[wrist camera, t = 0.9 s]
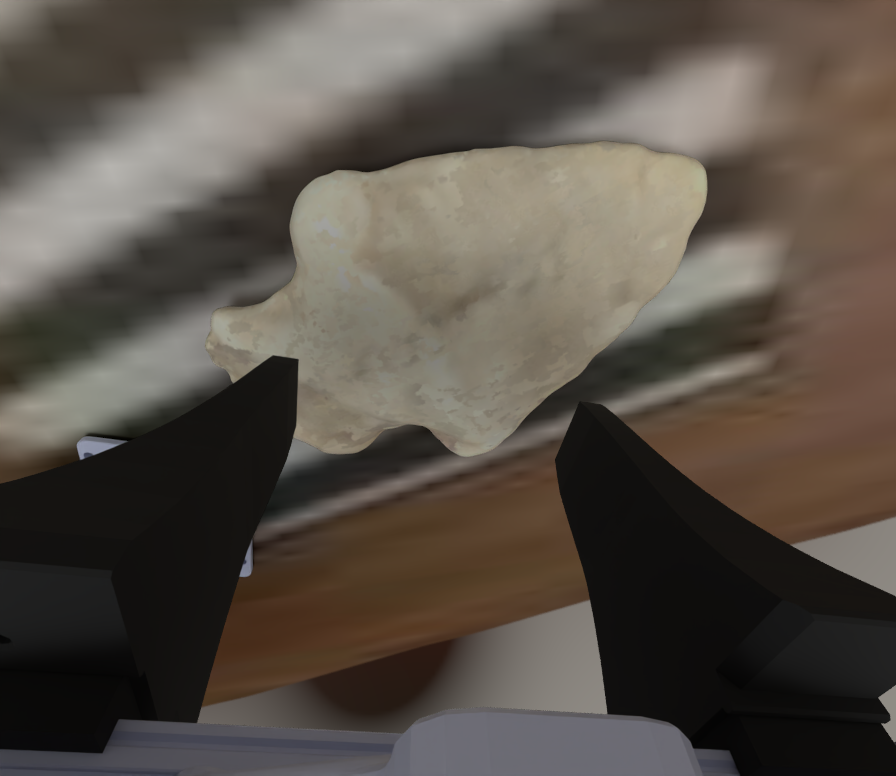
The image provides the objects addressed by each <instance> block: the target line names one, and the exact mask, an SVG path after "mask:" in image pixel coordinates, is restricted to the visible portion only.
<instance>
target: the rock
mask: <svg viewBox="0 0 896 776" xmlns="http://www.w3.org/2000/svg"><path fill="white" fill-rule="evenodd" d="M706 195H707V176H706V171H705V169H704V167H703V166H702V164H700V163H699V161H697V160H695V159H693V158H691V157H688V156H684V155H680V154H674V153H660V152H655V151H652V150H649V149H647V148H646V147H644V146H642V145H639V144H635V143H617V142H611V141H598V142H593V143H585V144H579V143H574V144H567V145H558V146H554V147H547V148H528V147H522V146H507V147H499V148H491V149H472V150H469V151H464V152H453V153H447V154H441V155H435V156H428V157H422V158H416V159H412V160H409V161H406V162H403V163H400V164H398V165H395V166H392V167H389V168H386V169H383V170H378V171H373V172H360V171H355V170H336V171H334V172H332V173H330V174H328V175H324V176H321V177H318V178H316V179H314V180H313V181H312V182H311V183H309V184H308V185H307V186H306V187H305V188H304V189H303V190H302V192H301V193H300V194H299V196H298V198H297V199H296V202H295V205H294V208H293V211H292V216H291V220H290V234H291V240H292V244H293V248H294V254H295V259H296V261H297V267H296V270H295V273H294V276H293V278H292V280H291V281H290V282H289V283H288V284H287V285H285V286H284V287H283V288H282V289H280V290H279V291H277V292H276V293H275V294H273V295H272V296H271V297H270V298H269V299H268V300H266V301H264V302H262V303H258V304H254V305H250V306H245V307H233V306H227V307H223V308H219V309H216V310H215V311H214V312H213V314H212V317H211V331H210V333H209V335H208V337H207V339H206V342H205V348H206V350H207V352H208V353H209V355H210V357H211V359H212V361H213V362H214V364H215V365H217V366H218V367H221V368H223V369H225V370H226V371H227V372H228V373H229V375H230V378H231V381H232V382H233V383H235V382H236V381H237V380H239V379H240V378H242V377H243V376H244V375H246V374H247V373H249V372H250V371H251V370H253V369H254V368H255V367H257V366H258V365H260V364H261V363H262V362H264V361H265V360H267V359H268V358H270V357H271V356H272V355H275V356H282V357H289V358H295V359H299V365H298V394H297V422H296V429H295V432H294V436H293V438H295V439H298V440H301V441H303V442H305V443H307V444H309V445H311V446H314V447H316V448H317V449H319V450H320V451H322V452H325V453H330V454H349V453H357V452H359V451H361V450H363V449H365V448H366V447H368V446H369V445H370V444H371V443H372V442H373V441H374V440H375V439H376V438H377V437H378V435H379V434H380V433H381V432H383V431H384V430H386V429H392V428H397V427H400V426H403V425H407V424H413V425H419V426H424V427H426V428H428V429H429V430H430V431H431V432H432V433H433V434H434V435H435V436H436V437H437V439H439V440H440V441H441V442H442V443H443V444H444V445H445V446H446V447H447V448H448V449H449V450H451V451H452V452H454V453H456V454H458V455H460V456H463V457H470V456H475V455H479V454H483V453H485V452H488V451H490V450H492V449H494V448H496V447H497V446H498V445H499V444H500V443H501V442H502V441H503V440H504V439H506V438H507V437H508V436H509V435H511V434H512V433H513V432H514V431H515V430H516V428H517V427H518V426H519V425H520V423H521V422H522V421H523V420H524V418H525V417H526V416H527V415H528V414H529V413H530V412H531V411H533V410H534V409H535V408H536V407H537V406H538V405H539V404H540V403H541V402H542V401H543V400H544V399H545V398H546V397H548V396H549V395H550V394H551V393H552V392H554V391H555V390H557V389H559V388H560V387H562V386H563V385H564V384H566V383H567V382H569V381H571V380H572V379H574V378H576V377H577V376H578V375H579V374H580V373H581V372H582V371H583V370H584V369H585V368H586V367H587V365H588V363H589V362H590V361H591V360H592V359H593V357H594V356H595V355H596V354H598V353H599V352H601V351H602V350H603V349H604V348H606V347H607V346H608V345H609V344H610V343H612V342H613V341H614V340H616V339H617V337H618V336H619V335H620V334H621V333H622V332H623V331H624V330H626V329H627V328H628V327H629V326H630V324H631V323H632V322H633V321H634V319H635V317H636V316H637V314H638V312H639V311H640V309H641V308H642V307H643V306H644V305H645V304H647V303H648V302H649V301H651V300H652V299H653V298H654V297H655V296H656V295H657V294H658V293H659V292H660V291H661V290H662V289H663V288H664V287H665V286H666V285H667V284H668V283H669V282H670V280H671V279H672V277H673V276H674V274H675V273H676V271H677V269H678V267H679V265H680V262H681V259H682V257H683V255H684V252H685V249H686V246H687V241H688V237H689V235H690V233H691V231H692V229H693V227H694V225H695V224H696V222H697V221H698V219H699V218H700V216H701V214H702V212H703V209H704V205H705V203H706Z"/></svg>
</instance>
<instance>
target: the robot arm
mask: <svg viewBox="0 0 896 776" xmlns="http://www.w3.org/2000/svg"><path fill="white" fill-rule="evenodd" d="M298 365H299V359H295V358H289V357H282V356H275V355H272V356H271V357H270V358H268V359H267V360H265V361H264V362H262V363H261V364H260V365H258V366H257V367H255V368H254V369H253V370H251V371H250V372H249V373H247V374H246V375H244V376H243V377H242V378H240V379H239V380H237V381H236V382H235V383H233V384H232V385H230V386H229V387H227V388H226V389H224V390H223V391H221V392H220V393H218V394H217V395H215V396H214V397H212V398H211V399H209V400H207V401H206V402H204V403H202V404H201V405H199V406H198V407H196V408H194V409H193V410H191V411H189V412H188V413H186V414H184V415H182V416H180V417H179V418H177V419H175V420H173V421H171V422H169V423H167V424H165V425H163V426H161V427H159V428H157V429H155V430H153V431H151V432H148V433H146V434H144V435H142V436H140V437H138V438H135V439H133V440H130V441H122V440H114V439H107V438H99V437H91V436H85V437H83V438H82V439H81V440H80V441H79V442H78V443H77V449H78V453H79V456H80V460H78V461H75V462H73V463H70V464H67V465H64V466H61V467H57V468H54V469H51V470H48V471H44V472H41V473H38V474H35V475H31V476H28V477H24V478H21V479H17V480H13V481H9V482H6V483H2V484H0V776H896V742H893V740H892V739H891V737H890V736H889V735H888V733H887V732H886V730H885V729H884V727H883V726H882V724H881V723H884V724H885V723H887V722H889V721H890V714H889V713H888V711H887V710H886V708H885V707H884V706H883V704H882V703H881V701H880V700H879V699H878V697H879V696H881V695H882V694H884V693H885V692H886V691H888V690H889V689H891V688H892V687H893V686H895V685H896V597H895V596H894V595H892V594H890V593H887V592H885V591H883V590H881V589H879V588H876V587H874V586H872V585H870V584H868V583H865V582H863V581H861V580H859V579H857V578H854V577H852V576H850V575H848V574H846V573H843V572H841V571H839V570H837V569H835V568H833V567H831V566H829V565H827V564H825V563H823V562H821V561H819V560H817V559H815V558H813V557H811V556H810V555H808V554H805V553H804V552H802V551H800V550H798V549H796V548H794V547H793V546H791V545H789V544H787V543H785V542H784V541H782V540H780V539H778V538H776V537H775V536H773V535H771V534H770V533H768V532H766V531H765V530H763V529H761V528H760V527H758V526H756V525H755V524H753V523H751V522H750V521H748V520H747V519H745V518H743V517H742V516H740V515H739V514H737V513H736V512H734V511H733V510H731V509H730V508H728V507H727V506H725V505H724V504H723V503H721V502H720V501H718V500H717V499H715V498H714V497H713V496H711V495H710V494H708V493H707V492H705V491H704V490H703V489H701V488H700V487H699V486H697V485H696V484H695V483H694V482H692V481H691V480H690V479H689V478H687V477H686V476H685V475H684V474H682V473H681V472H680V471H679V470H677V469H676V468H675V467H674V466H672V465H671V464H670V463H669V462H668V461H667V460H665V459H664V458H663V457H662V456H661V455H660V454H658V453H657V452H656V451H655V450H654V449H653V448H652V447H650V446H649V445H648V444H647V443H646V442H645V441H644V440H643V439H641V438H640V437H639V436H638V435H637V434H636V433H635V432H634V431H633V430H631V429H630V428H629V427H628V426H627V425H626V424H625V423H624V422H622V421H621V420H620V419H619V418H618V417H617V416H616V415H614V414H613V413H612V412H611V411H610V410H608V409H607V408H606V407H604V406H603V405H601V404H594V403H587V402H581V401H580V402H579V404H578V407H577V409H576V411H575V414H574V416H573V419H572V421H571V423H570V426H569V428H568V430H567V433H566V435H565V437H564V440H563V442H562V445H561V447H560V449H559V452H558V454H557V456H556V459H555V463H556V470H557V478H558V484H559V490H560V495H561V498H562V502H563V505H564V508H565V512H566V515H567V518H568V522H569V525H570V528H571V531H572V535H573V538H574V541H575V544H576V548H577V551H578V554H579V557H580V560H581V564H582V567H583V571H584V574H585V578H586V582H587V586H588V591H589V597H590V602H591V607H592V612H593V617H594V623H595V628H596V635H597V641H598V647H599V653H600V659H601V667H602V674H603V682H604V690H605V696H606V705H607V714H592V713H574V712H558V711H541V710H525V709H507V708H491V707H476V708H462V709H461V708H460V709H447V710H444V711H441V712H438V713H435V714H432V715H429V716H427V717H423V718H421V719H418V720H417V721H416V722H415V723H414V724H413V725H412V726H411V727H410V728H409V729H408V730H407V731H406V732H405V733H404V734H397V733H378V732H358V731H339V730H319V729H299V728H280V727H261V726H241V725H221V724H201V723H197V720H198V717H199V713H200V710H201V706H202V702H203V699H204V695H205V691H206V688H207V684H208V680H209V677H210V673H211V670H212V666H213V663H214V659H215V656H216V652H217V649H218V645H219V642H220V638H221V635H222V631H223V628H224V625H225V622H226V618H227V615H228V612H229V608H230V605H231V602H232V598H233V595H234V592H235V589H236V585H237V582H238V579H239V577H247V576H249V575H250V574H251V572H252V569H253V548H252V538H253V535H254V533H255V531H256V529H257V526H258V524H259V522H260V519H261V517H262V515H263V513H264V510H265V508H266V506H267V504H268V501H269V499H270V497H271V494H272V492H273V490H274V488H275V485H276V483H277V481H278V478H279V476H280V474H281V472H282V469H283V467H284V464H285V462H286V460H287V457H288V453H289V450H290V446H291V443H292V439H293V436H294V432H295V429H296V422H297V394H298ZM91 453H92V454H91Z"/></svg>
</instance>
